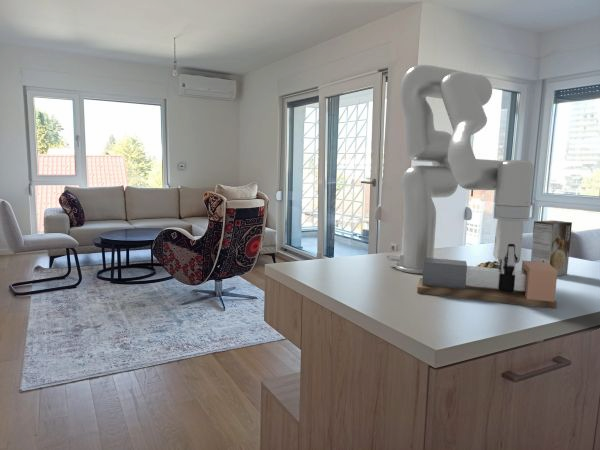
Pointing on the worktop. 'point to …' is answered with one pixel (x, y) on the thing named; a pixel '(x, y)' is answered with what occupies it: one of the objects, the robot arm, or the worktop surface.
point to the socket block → (540, 280)
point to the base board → (485, 295)
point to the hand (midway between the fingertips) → (504, 288)
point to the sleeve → (444, 273)
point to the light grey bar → (492, 277)
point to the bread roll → (489, 264)
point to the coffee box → (552, 244)
